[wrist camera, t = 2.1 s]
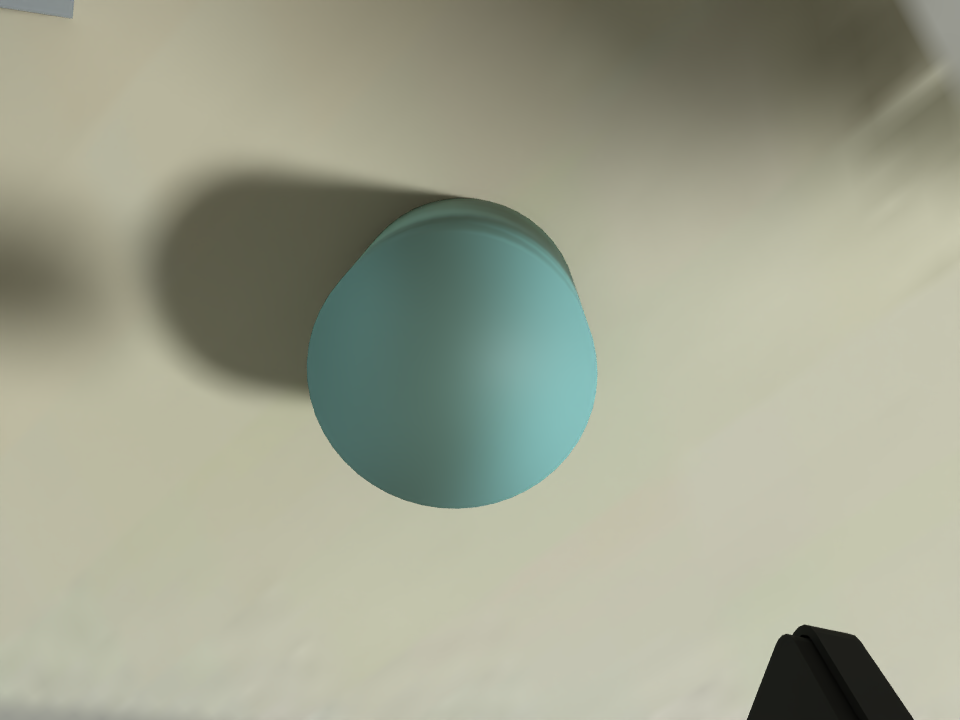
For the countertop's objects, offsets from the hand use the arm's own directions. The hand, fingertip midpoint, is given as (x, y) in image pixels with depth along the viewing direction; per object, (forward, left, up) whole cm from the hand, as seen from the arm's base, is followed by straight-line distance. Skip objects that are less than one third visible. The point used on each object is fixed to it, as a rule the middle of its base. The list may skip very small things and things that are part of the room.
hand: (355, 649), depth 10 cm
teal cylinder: (0, 0, -14) cm, 14 cm away
